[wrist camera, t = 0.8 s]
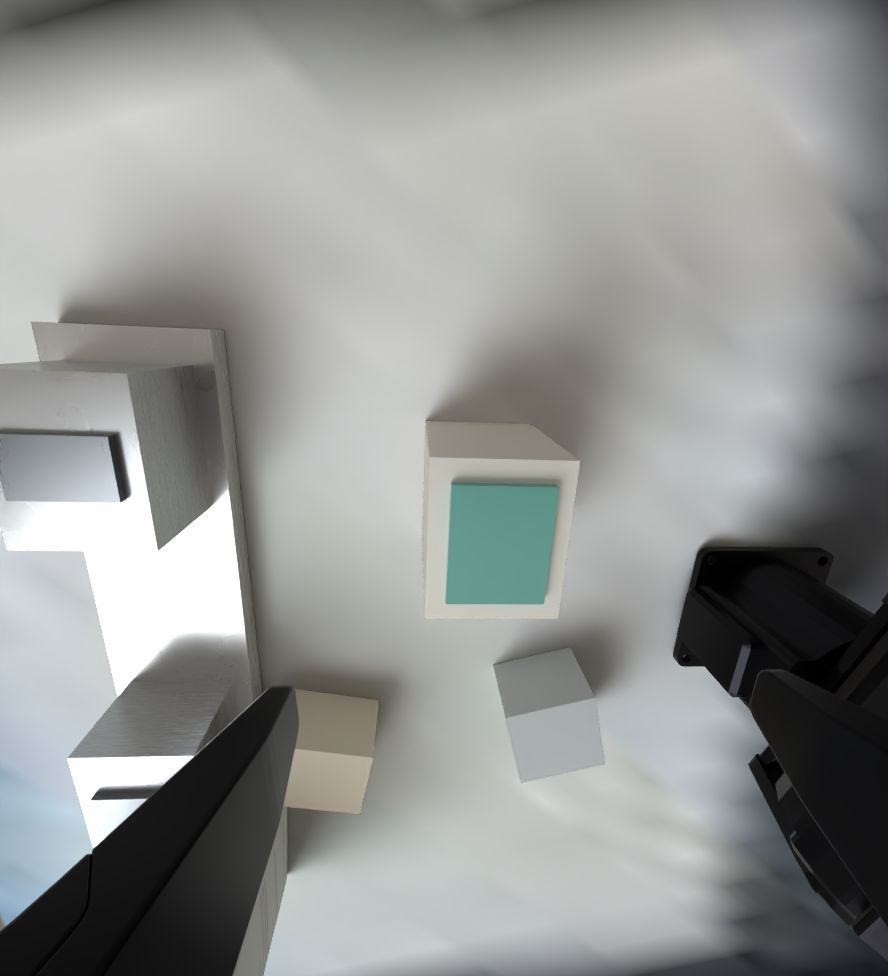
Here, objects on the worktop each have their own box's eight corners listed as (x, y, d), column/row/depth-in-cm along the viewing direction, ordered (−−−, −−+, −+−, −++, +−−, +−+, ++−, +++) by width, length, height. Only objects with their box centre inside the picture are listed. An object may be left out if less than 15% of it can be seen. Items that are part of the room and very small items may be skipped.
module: (531, 423, 19) (584, 463, 13) (519, 542, 21) (560, 624, 15) (425, 420, 19) (429, 459, 13) (421, 540, 21) (424, 624, 15)
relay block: (569, 645, 23) (595, 697, 20) (578, 705, 24) (604, 764, 21) (493, 663, 23) (506, 718, 20) (506, 722, 24) (520, 782, 21)
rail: (223, 329, 17) (141, 327, 12) (270, 766, 24) (230, 884, 19) (56, 322, 17) (-105, 316, 12) (152, 769, 24) (79, 890, 19)
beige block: (378, 698, 23) (373, 757, 20) (367, 749, 24) (359, 814, 21) (280, 684, 23) (257, 744, 19) (272, 738, 24) (249, 803, 20)
